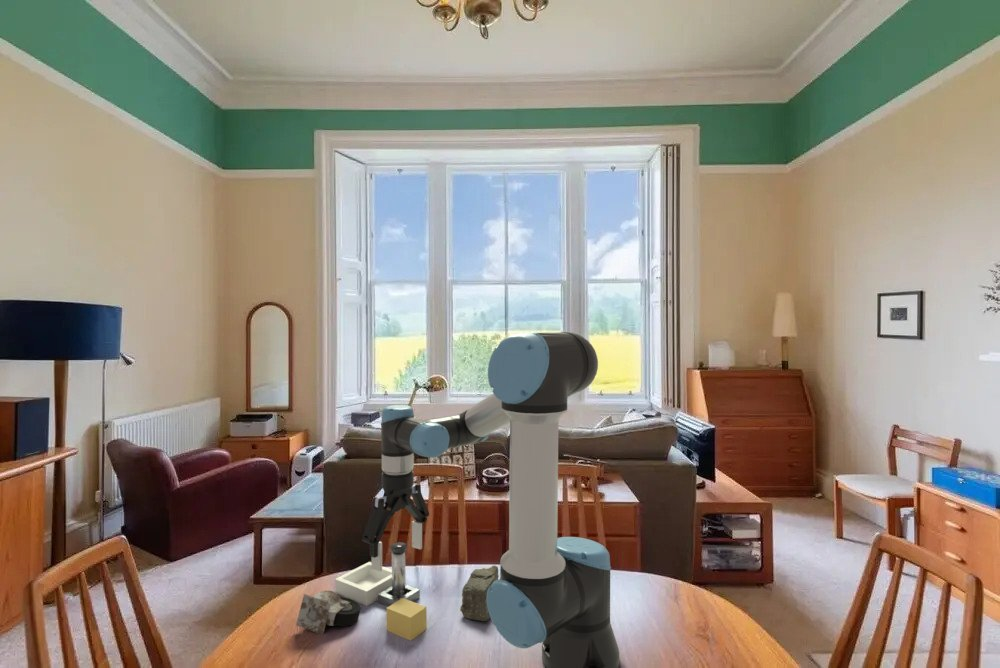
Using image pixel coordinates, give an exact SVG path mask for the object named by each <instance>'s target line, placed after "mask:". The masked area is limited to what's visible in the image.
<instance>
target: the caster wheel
mask: <svg viewBox="0 0 1000 668" xmlns="http://www.w3.org/2000/svg"><path fill="white" fill-rule="evenodd" d="M361 609H362V608H361V605H360V603H358V602H356V601H355V600H352V599H350V598H346V597H343V596H340V595H339V594H336V593H335V591H333V590H324V591H323V590H322V591H320V592H317V593H316V594H314V595H312V596H311V595H307V594H305V593H304V594H303V597H302V601H301V605H300V609H299V613H298V617H297V620H296V626H298V627H300V628H303V629H305V630H309V631H311V632H313V633H316V634H319V635H324V633H325V628H326V626H332V627H334V626H338V627H339V626H340V627H347V626H351V625H354V624H355V623H357V622H358V621H359V617H360V614H361Z"/></svg>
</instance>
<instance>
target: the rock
mask: <svg viewBox="0 0 1000 668" xmlns="http://www.w3.org/2000/svg"><path fill="white" fill-rule="evenodd" d="M499 578H500V574H499V568H498V566H497V565H491V566H490V567H488V568H486V567H482V568H476V569H474V570H473V571H472V572H470V576H469V578H468V580H467V582H466V583H465V584H464V585H463V588H462V590H461V606H460V608H459V609H460V612H461V614H462V616H463V617H464V618H467V619H469V620H475V621H479V622H481V621H482V622H487V621H489V620H490V619H491V617H490V615H489V611H488V607H487V591H488V588H489V587H490V586H491V585H492V584H493V582H494V581H495V580H499Z"/></svg>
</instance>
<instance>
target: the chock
mask: <svg viewBox="0 0 1000 668" xmlns="http://www.w3.org/2000/svg"><path fill="white" fill-rule="evenodd" d="M385 612H386V631H387V632H389V633H392V634H395V635H397V636H399V637H401V638H404V639H405V640H408V641H412V640H414V639H415V638H417V636H420V635H421V633H423V632H424V631H426V630H427V606H425V605H423V604H420V603H417V602H415V601H414V602H412V601H409V600H407V599H404V598H402V599H400V600H398V601H397V602H395V603H394V604H392V605H391V606H389V607H388V606H386V611H385Z"/></svg>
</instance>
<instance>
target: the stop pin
mask: <svg viewBox="0 0 1000 668" xmlns="http://www.w3.org/2000/svg"><path fill="white" fill-rule="evenodd" d="M389 549H390V550H389V551H390V554H391V569H392V596H394V597H397V598H401V597H402V596H404V595H405V594H406V585H407V584H406V581H407V579H406V552H407V543H405V542H393V543H392V544H391V545H390V548H389Z"/></svg>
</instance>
